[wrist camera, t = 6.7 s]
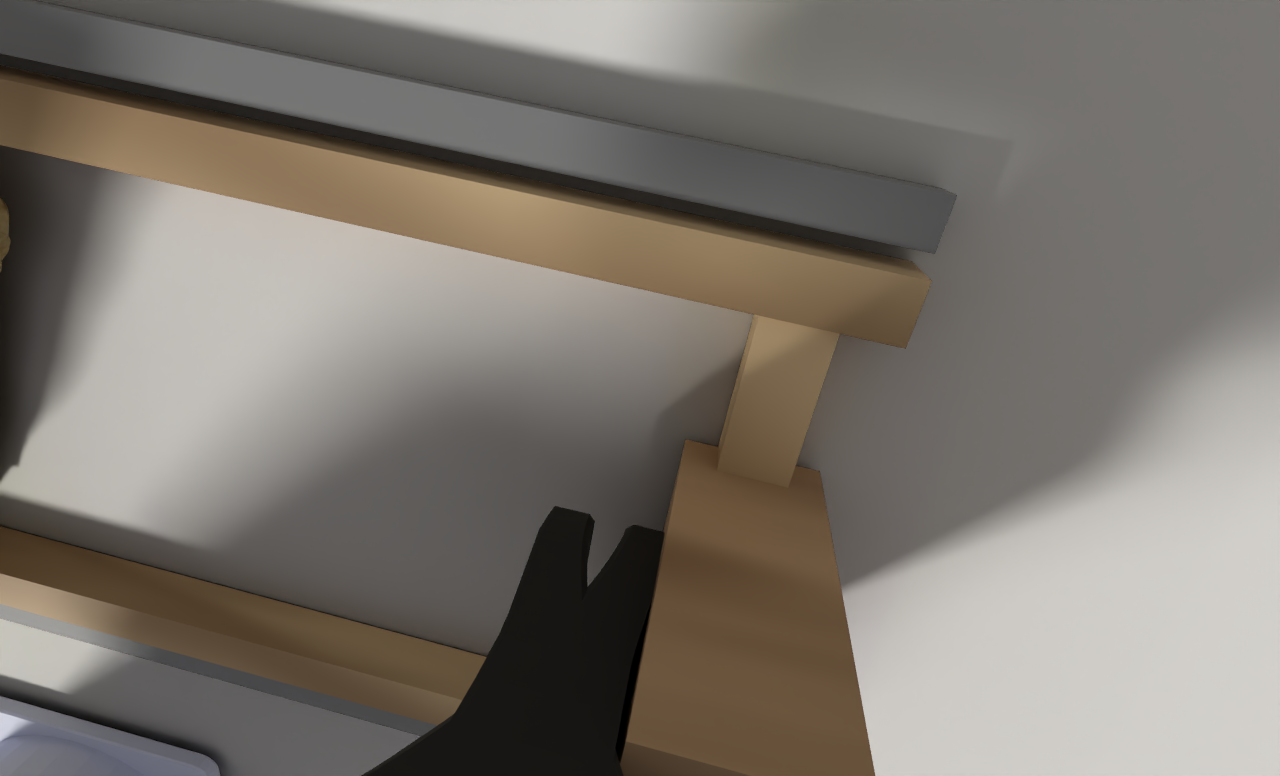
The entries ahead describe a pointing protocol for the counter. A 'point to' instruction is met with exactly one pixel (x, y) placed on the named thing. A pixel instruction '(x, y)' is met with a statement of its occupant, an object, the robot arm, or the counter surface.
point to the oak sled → (705, 484)
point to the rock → (4, 231)
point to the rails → (470, 124)
